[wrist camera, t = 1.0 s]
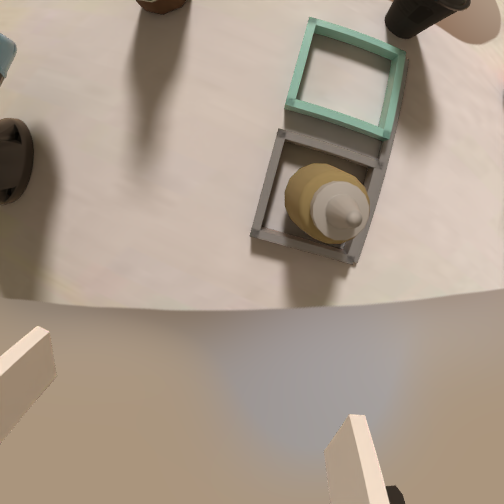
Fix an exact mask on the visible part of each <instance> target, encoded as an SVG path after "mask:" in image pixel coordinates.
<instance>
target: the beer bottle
mask: <svg viewBox="0 0 504 504" xmlns="http://www.w3.org/2000/svg"><path fill="white" fill-rule="evenodd" d="M136 1H137V2H138V3H139V5H140V6H141V7H142V8H144V9H145V10H146V11H149V12H154V13H158V14H165V13H168V12H170V11H173V10H175V9H178V8H180V7H182V5H183V4H184V3H185V1H186V0H136Z"/></svg>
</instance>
